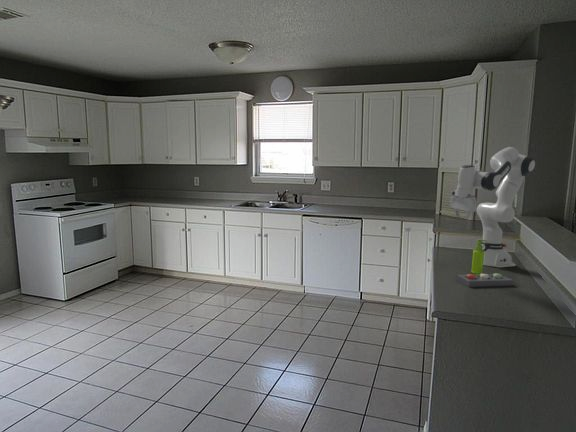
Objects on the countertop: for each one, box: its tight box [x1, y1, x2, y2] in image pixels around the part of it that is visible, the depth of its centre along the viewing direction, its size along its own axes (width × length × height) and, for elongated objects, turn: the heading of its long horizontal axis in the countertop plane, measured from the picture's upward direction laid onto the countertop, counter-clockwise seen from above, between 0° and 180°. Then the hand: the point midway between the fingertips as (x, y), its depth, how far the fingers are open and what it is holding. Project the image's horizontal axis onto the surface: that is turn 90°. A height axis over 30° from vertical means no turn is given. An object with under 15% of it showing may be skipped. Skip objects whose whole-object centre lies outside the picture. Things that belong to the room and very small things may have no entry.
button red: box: [466, 273, 475, 279], centre depth 221 cm, size 4×4×3 cm
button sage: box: [492, 272, 503, 279], centre depth 224 cm, size 4×4×3 cm
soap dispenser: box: [470, 238, 487, 274], centre depth 241 cm, size 6×7×20 cm
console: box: [455, 273, 514, 288], centre depth 223 cm, size 26×12×3 cm, turn 101°
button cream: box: [480, 273, 489, 279], centre depth 223 cm, size 4×4×3 cm
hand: (461, 217), depth 236 cm, fingers open, 8 cm apart
